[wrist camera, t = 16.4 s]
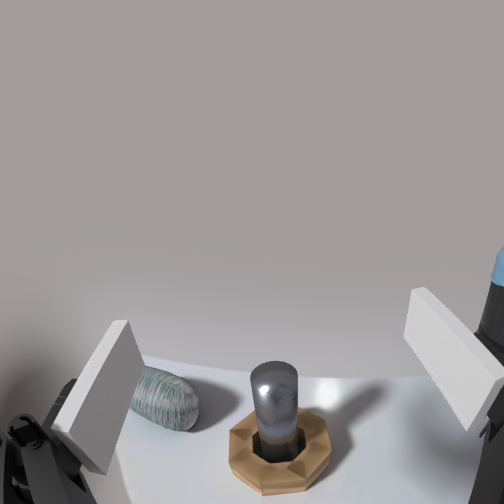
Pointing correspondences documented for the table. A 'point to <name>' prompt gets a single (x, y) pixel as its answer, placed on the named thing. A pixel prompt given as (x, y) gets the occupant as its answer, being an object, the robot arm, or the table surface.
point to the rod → (276, 410)
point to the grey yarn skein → (166, 399)
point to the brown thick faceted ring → (286, 473)
